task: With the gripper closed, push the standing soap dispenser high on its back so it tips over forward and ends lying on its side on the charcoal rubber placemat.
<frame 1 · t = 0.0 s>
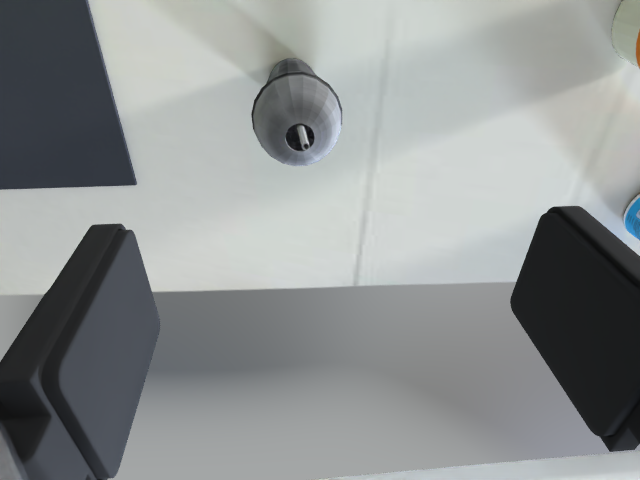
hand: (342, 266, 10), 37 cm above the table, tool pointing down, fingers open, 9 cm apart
beverage cup: (292, 81, 43), on the table
placemat: (29, 95, 41), on the table
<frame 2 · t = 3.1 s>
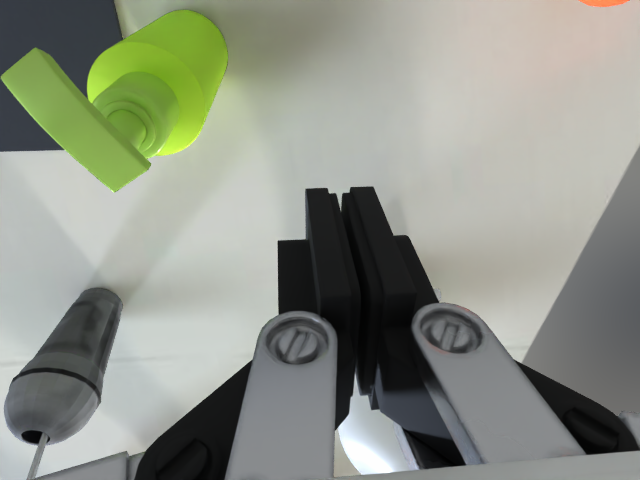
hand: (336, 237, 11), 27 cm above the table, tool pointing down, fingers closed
beverage cup: (101, 302, 46), on the table
soap dispenser: (185, 46, 32), on the table
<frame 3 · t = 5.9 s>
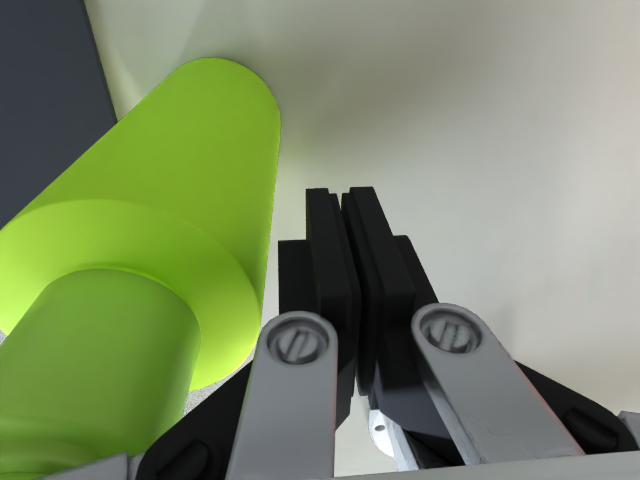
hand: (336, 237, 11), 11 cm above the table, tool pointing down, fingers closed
soap dispenser: (213, 112, 20), on the table, touching gripper
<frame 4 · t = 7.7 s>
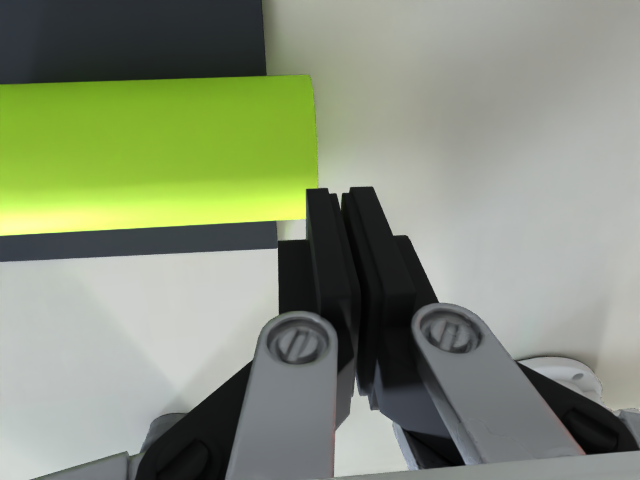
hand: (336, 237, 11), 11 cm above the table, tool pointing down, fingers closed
beverage cup: (179, 427, 34), on the table
placemat: (49, 113, 19), on the table
soap dispenser: (316, 136, 18), point 3 cm above the table, touching placemat
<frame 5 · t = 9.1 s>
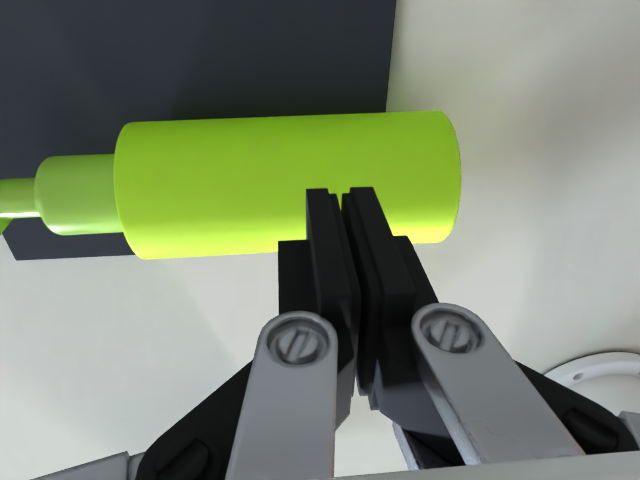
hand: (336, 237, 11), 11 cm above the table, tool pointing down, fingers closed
placemat: (174, 109, 20), on the table
soap dispenser: (441, 167, 19), point 3 cm above the table, touching placemat
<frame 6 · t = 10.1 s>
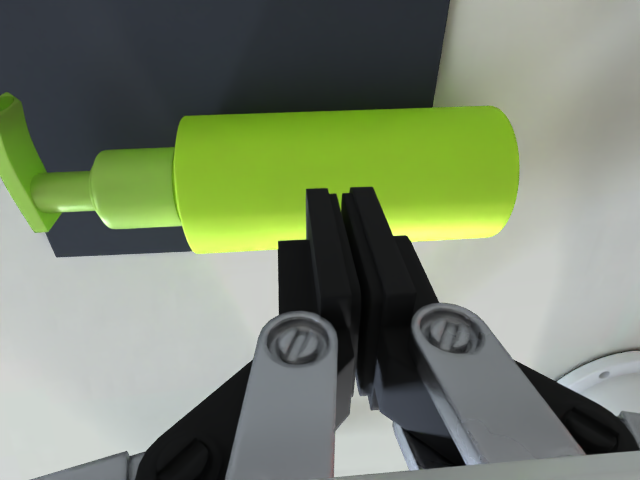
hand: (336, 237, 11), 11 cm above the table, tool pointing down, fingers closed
placemat: (222, 107, 20), on the table
soap dispenser: (491, 162, 19), point 3 cm above the table, touching placemat
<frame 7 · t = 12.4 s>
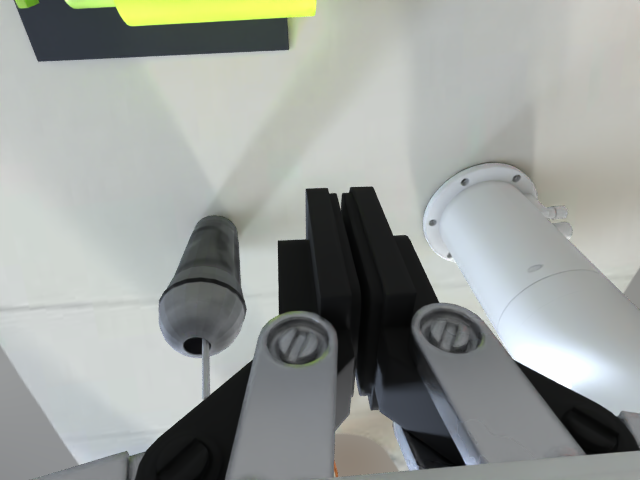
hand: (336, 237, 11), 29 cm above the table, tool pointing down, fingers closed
beverage cup: (216, 232, 45), on the table
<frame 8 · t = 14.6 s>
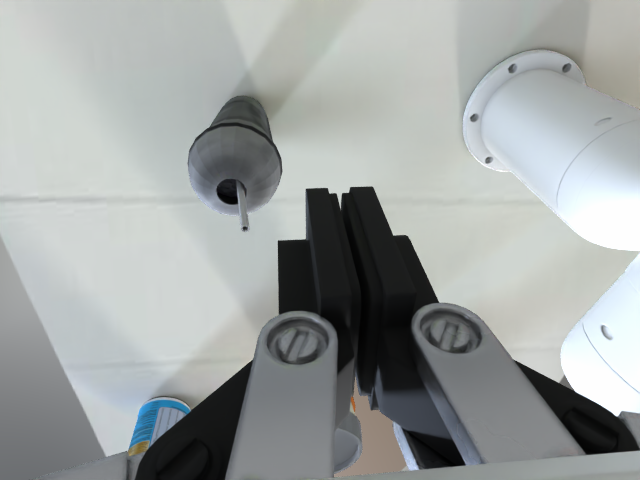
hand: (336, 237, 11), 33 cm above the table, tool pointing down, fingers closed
beverage cup: (244, 117, 42), on the table
beverage bottle: (166, 409, 68), on the table
reusable coffee cup: (306, 355, 64), on the table
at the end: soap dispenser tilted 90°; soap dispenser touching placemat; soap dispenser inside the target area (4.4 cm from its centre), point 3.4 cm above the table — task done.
